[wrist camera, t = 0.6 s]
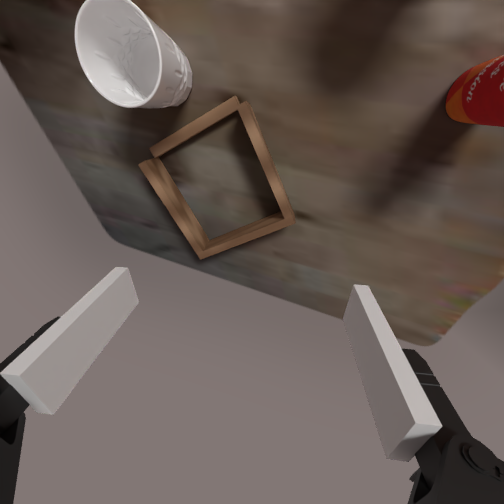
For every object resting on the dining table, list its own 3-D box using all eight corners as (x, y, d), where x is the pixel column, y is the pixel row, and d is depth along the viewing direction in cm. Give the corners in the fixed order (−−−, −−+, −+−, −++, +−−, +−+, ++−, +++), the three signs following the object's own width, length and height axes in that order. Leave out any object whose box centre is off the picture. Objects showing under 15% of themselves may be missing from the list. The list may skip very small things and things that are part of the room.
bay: (146, 151, 34) (131, 154, 30) (244, 91, 29) (240, 87, 25) (207, 248, 41) (200, 259, 37) (294, 213, 36) (295, 223, 32)
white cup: (146, 113, 31) (94, 109, 22) (128, 36, 27) (58, -3, 19) (201, 110, 30) (170, 105, 22) (191, 30, 26) (148, -15, 18)
